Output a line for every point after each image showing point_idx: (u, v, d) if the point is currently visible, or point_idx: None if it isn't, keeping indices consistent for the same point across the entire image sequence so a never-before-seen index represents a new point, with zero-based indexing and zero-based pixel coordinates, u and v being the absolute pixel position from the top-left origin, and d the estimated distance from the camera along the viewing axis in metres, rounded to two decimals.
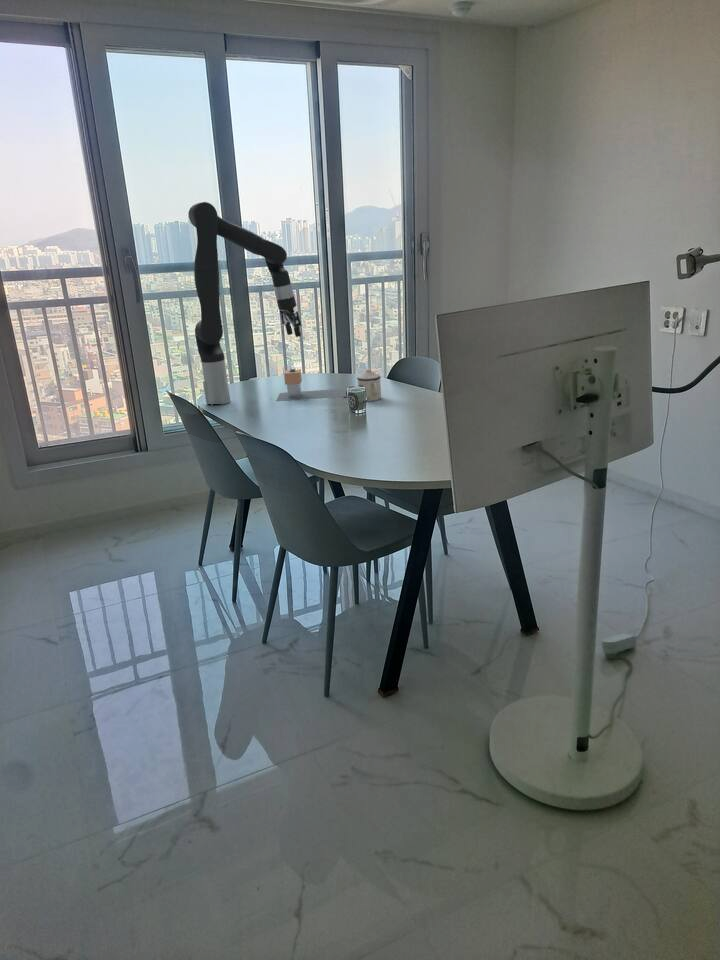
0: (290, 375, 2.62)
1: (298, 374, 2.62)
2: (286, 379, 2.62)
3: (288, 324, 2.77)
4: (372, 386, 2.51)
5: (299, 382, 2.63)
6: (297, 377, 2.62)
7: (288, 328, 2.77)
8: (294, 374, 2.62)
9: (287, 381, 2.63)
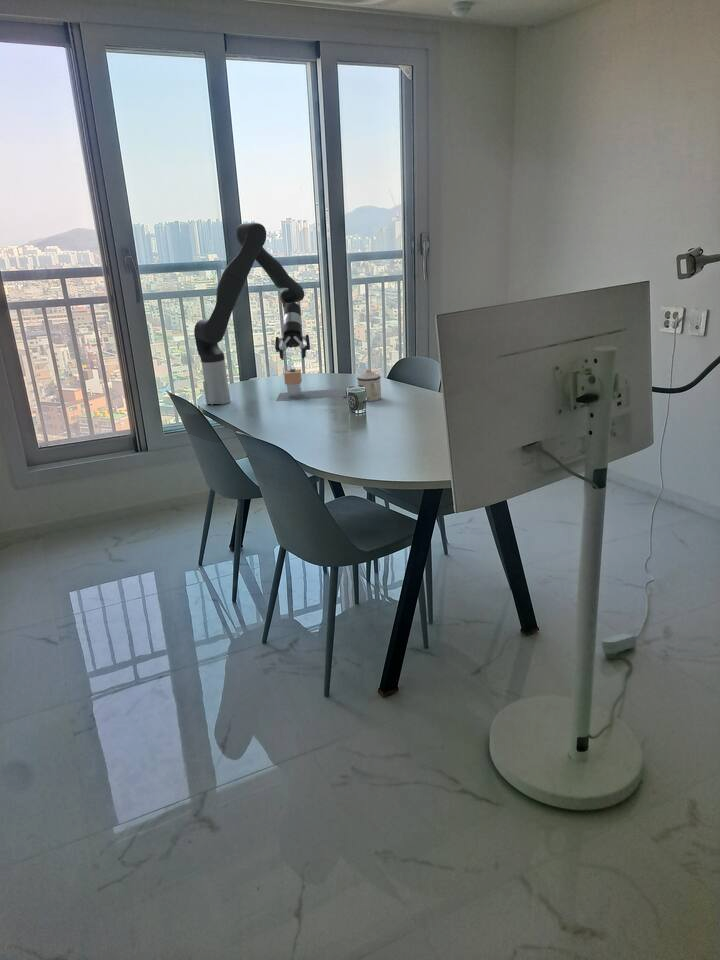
0: (290, 375, 2.62)
1: (298, 374, 2.62)
2: (286, 379, 2.62)
3: (282, 350, 2.71)
4: (372, 386, 2.51)
5: (299, 382, 2.63)
6: (297, 377, 2.62)
7: (283, 353, 2.70)
8: (294, 374, 2.62)
9: (287, 381, 2.63)
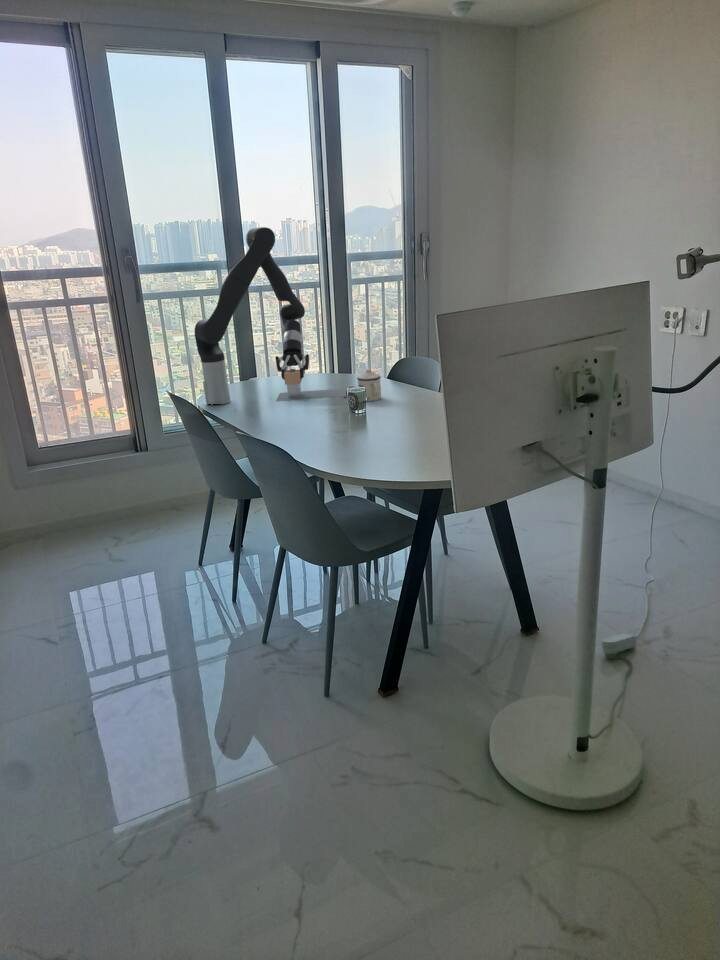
0: (290, 375, 2.62)
1: (298, 374, 2.62)
2: (286, 379, 2.62)
3: (284, 370, 2.66)
4: (372, 386, 2.51)
5: (299, 382, 2.63)
6: (297, 377, 2.62)
7: None
8: (294, 374, 2.62)
9: (287, 381, 2.63)
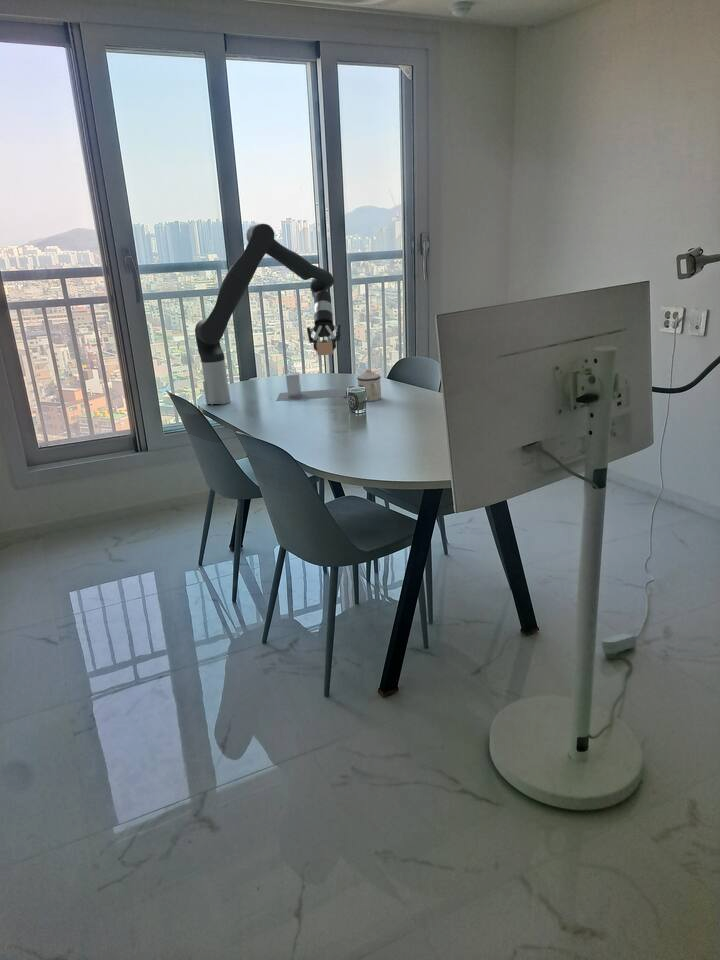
0: (323, 346, 2.58)
1: (331, 345, 2.58)
2: (318, 350, 2.59)
3: (316, 341, 2.62)
4: (372, 386, 2.51)
5: (331, 353, 2.59)
6: (330, 348, 2.58)
7: None
8: (326, 345, 2.58)
9: (319, 352, 2.59)
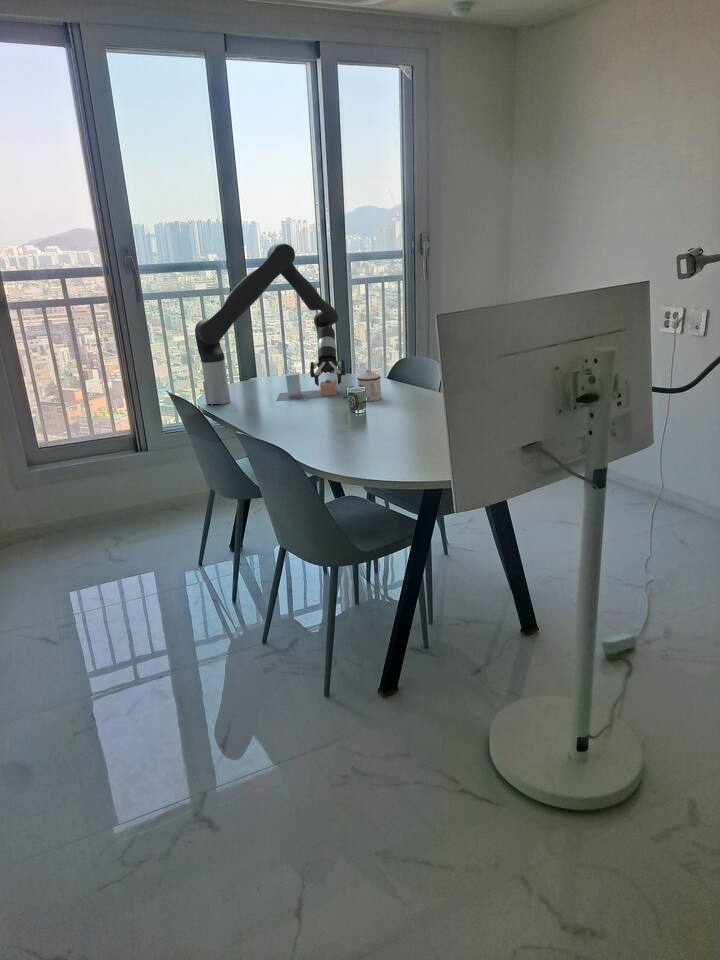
0: (326, 386, 2.64)
1: (334, 385, 2.63)
2: (322, 390, 2.64)
3: (317, 376, 2.67)
4: (372, 386, 2.51)
5: (335, 393, 2.65)
6: (333, 388, 2.64)
7: (318, 378, 2.66)
8: (330, 385, 2.63)
9: (323, 392, 2.64)
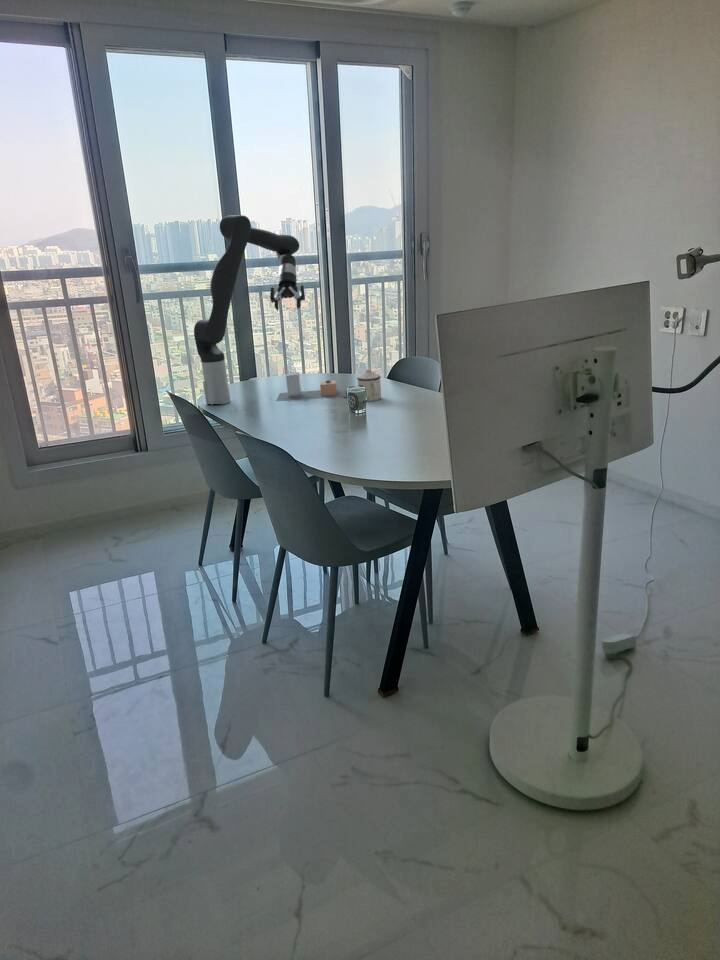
0: (326, 386, 2.64)
1: (334, 385, 2.63)
2: (322, 390, 2.64)
3: (277, 301, 2.73)
4: (372, 386, 2.51)
5: (335, 393, 2.65)
6: (333, 388, 2.64)
7: (278, 303, 2.72)
8: (330, 385, 2.63)
9: (323, 392, 2.64)
